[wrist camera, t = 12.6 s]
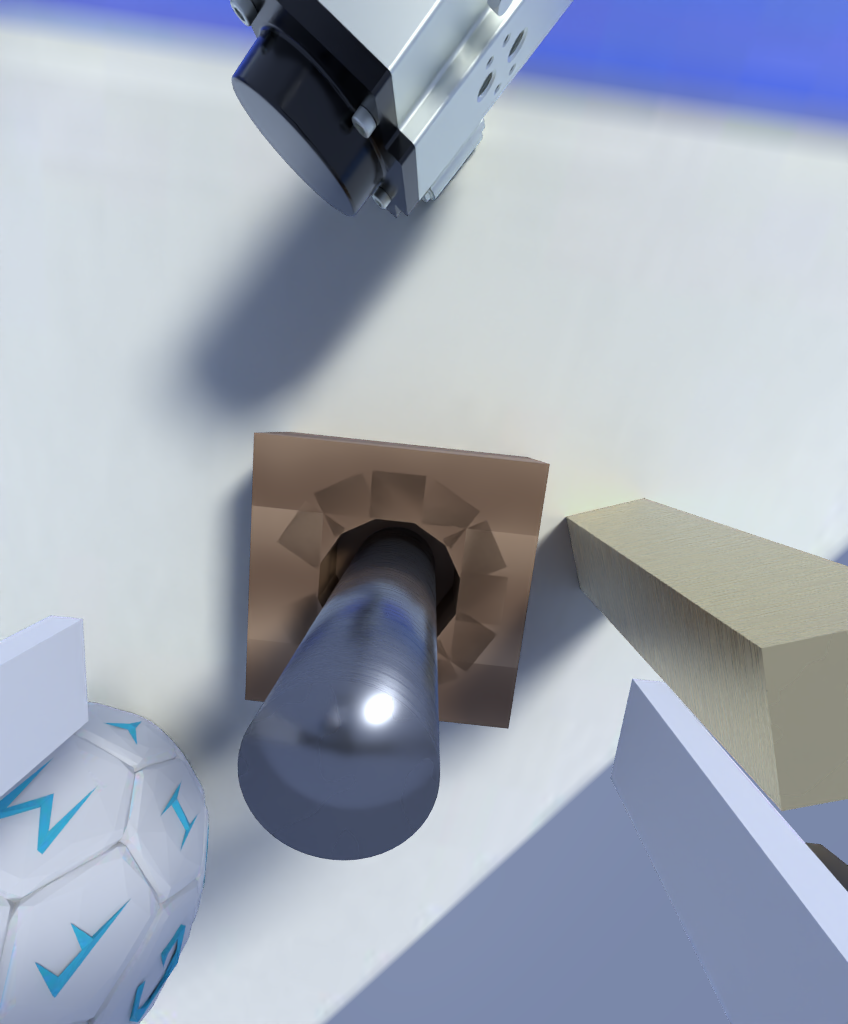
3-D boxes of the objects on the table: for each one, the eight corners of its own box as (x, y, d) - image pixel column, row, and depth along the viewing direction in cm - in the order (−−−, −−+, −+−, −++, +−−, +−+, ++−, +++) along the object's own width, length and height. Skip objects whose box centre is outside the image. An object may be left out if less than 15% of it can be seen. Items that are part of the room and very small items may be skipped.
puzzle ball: (15, 617, 25) (-601, 893, 10) (279, 684, 25) (60, 1045, 10) (-7, 839, 28) (-514, 1310, 13) (232, 897, 28) (5, 1419, 13)
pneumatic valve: (308, 219, 21) (141, -55, 9) (478, -14, 19) (549, -746, 7) (399, 302, 21) (354, 146, 10) (572, 83, 19) (784, -444, 8)
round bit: (359, 522, 22) (240, 671, 8) (439, 531, 22) (450, 693, 8) (353, 598, 23) (235, 849, 9) (430, 606, 23) (428, 869, 9)
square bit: (566, 516, 23) (761, 648, 9) (644, 498, 23) (964, 605, 9) (580, 588, 24) (782, 811, 10) (656, 571, 23) (971, 775, 10)
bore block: (289, 431, 23) (254, 432, 18) (527, 457, 22) (549, 464, 18) (279, 651, 25) (245, 699, 20) (495, 674, 25) (508, 728, 20)
